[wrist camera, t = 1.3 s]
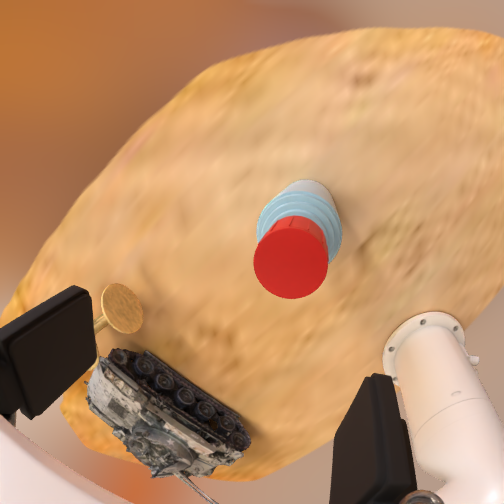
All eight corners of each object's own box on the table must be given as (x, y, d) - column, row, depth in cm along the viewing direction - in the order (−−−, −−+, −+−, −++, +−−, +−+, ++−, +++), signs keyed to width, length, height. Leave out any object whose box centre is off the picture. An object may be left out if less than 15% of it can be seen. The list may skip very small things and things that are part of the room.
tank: (222, 460, 52) (199, 517, 38) (96, 373, 52) (53, 419, 38) (269, 430, 47) (251, 500, 33) (120, 325, 46) (63, 376, 32)
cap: (333, 223, 19) (335, 237, 15) (318, 281, 20) (317, 306, 17) (271, 209, 19) (260, 220, 16) (260, 267, 21) (247, 289, 17)
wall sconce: (131, 258, 42) (-6, 346, 19) (168, 314, 43) (58, 432, 20) (82, 295, 46) (-27, 371, 23) (113, 341, 48) (18, 433, 24)
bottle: (339, 186, 33) (363, 218, 15) (327, 240, 35) (332, 325, 17) (284, 174, 34) (243, 191, 16) (273, 228, 36) (225, 300, 18)
